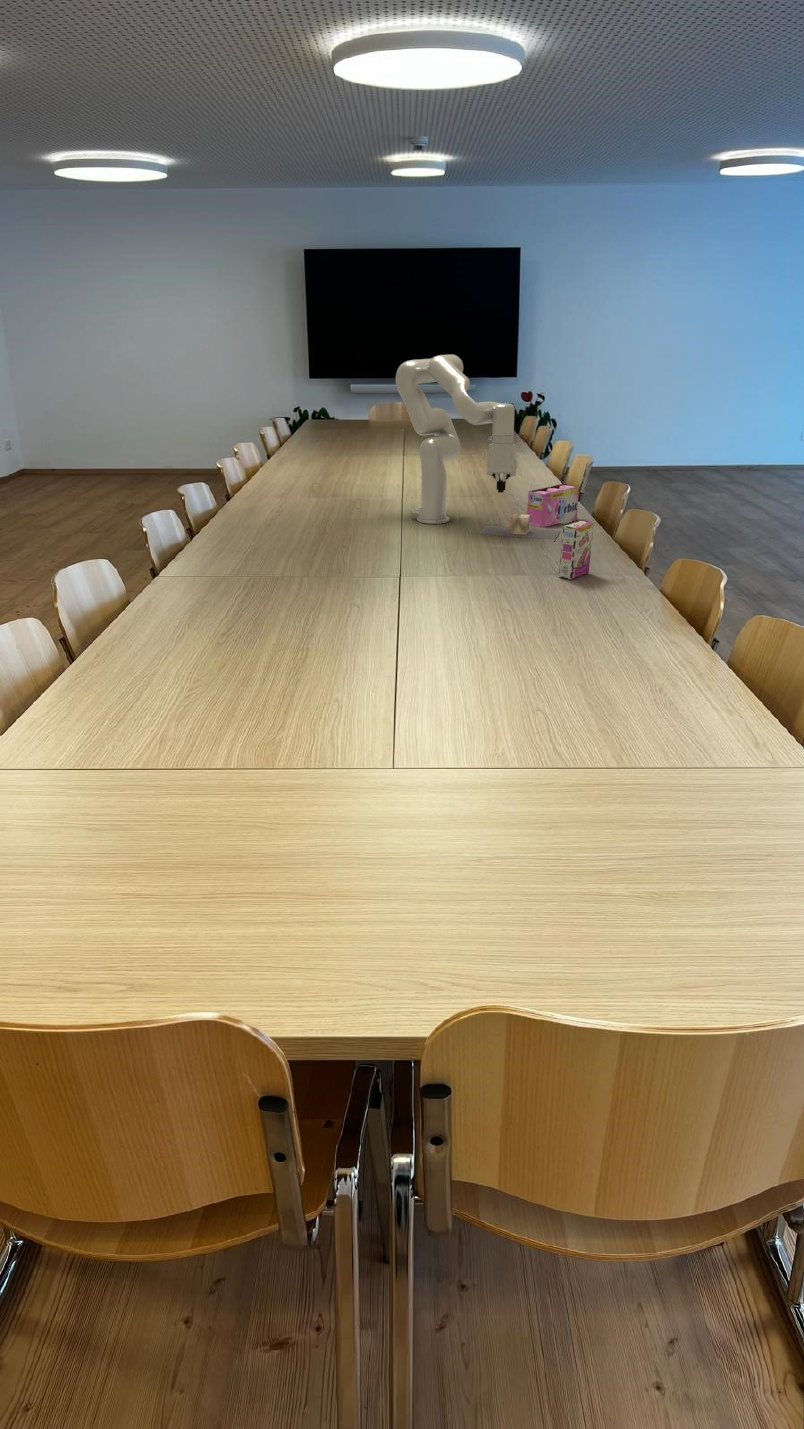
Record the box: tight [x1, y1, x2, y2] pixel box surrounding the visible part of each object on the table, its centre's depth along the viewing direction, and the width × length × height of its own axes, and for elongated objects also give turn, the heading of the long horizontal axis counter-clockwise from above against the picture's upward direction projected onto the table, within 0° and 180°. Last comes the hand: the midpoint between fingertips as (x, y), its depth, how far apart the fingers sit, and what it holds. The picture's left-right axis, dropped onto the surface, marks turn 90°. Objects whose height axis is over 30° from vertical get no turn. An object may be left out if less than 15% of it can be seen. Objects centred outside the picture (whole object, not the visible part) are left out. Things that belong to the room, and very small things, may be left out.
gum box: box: [526, 483, 580, 528], centre depth 373 cm, size 24×8×14 cm, turn 135°
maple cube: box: [509, 513, 530, 535], centre depth 356 cm, size 6×6×6 cm
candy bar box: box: [558, 520, 595, 581], centre depth 305 cm, size 11×5×16 cm, turn 141°
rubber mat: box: [477, 525, 561, 543], centre depth 357 cm, size 28×14×1 cm, turn 74°
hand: (500, 492), depth 353 cm, fingers closed
